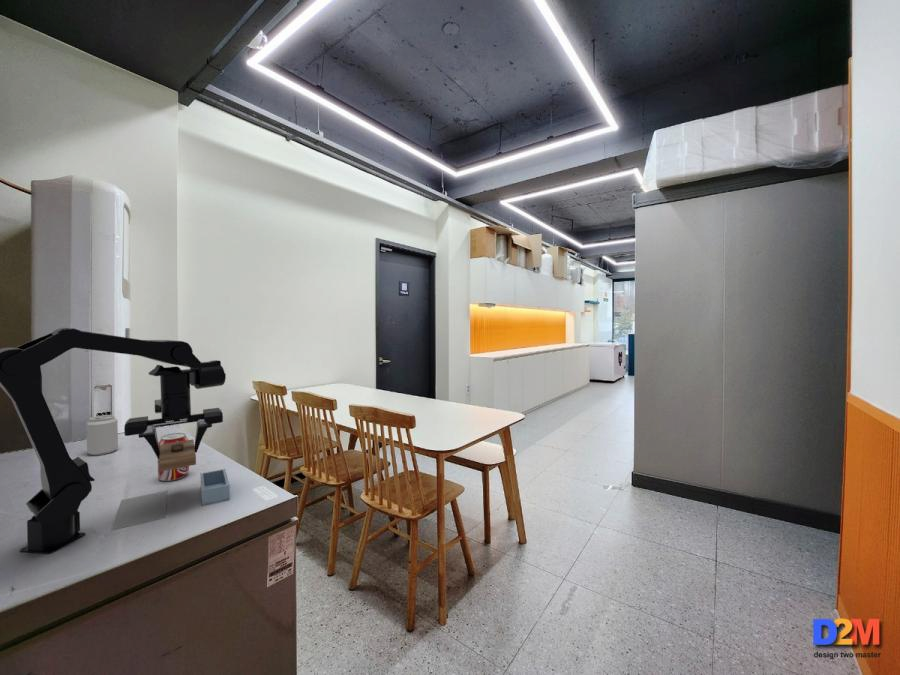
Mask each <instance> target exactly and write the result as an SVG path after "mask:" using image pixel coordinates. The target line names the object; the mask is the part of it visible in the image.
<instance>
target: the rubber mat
mask: <svg viewBox="0 0 900 675" xmlns="http://www.w3.org/2000/svg"><path fill="white" fill-rule="evenodd" d="M168 492H169V490H165V491H160V492H159V491H158V492H155V493H154V492H153V493H149V494H143V495H139V496H134V497H130V498H124V499H121V500H120V503H119V506H118V509H117V512H116V515H115V518H114V521H113V523H112V526H111V529H110V531H111V532H112V531H115V530H118V529H124V528H128V527H132V526H136V525H140V524H141V525H142V524H145V523H149V522H154V521H157V520H162V519H166V513H167V503H168V494H169V493H168Z"/></svg>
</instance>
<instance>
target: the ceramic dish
mask: <svg viewBox="0 0 900 675" xmlns="http://www.w3.org/2000/svg"><path fill="white" fill-rule="evenodd" d="M226 471H227V470H226V468H222V469H216V470H211V471H207V472H202V473H201V472H200V476H199V477H200V479H199V482H200V485H199V486H200V496H201V506H202V507H204V506H208V505H212V504H217V503H221V502H225V501H230V481H229V477H228V474H227V472H226Z"/></svg>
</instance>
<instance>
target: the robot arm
mask: <svg viewBox="0 0 900 675" xmlns="http://www.w3.org/2000/svg"><path fill="white" fill-rule="evenodd" d="M72 349H81V350H82V349H83V350H91V351H98V352H105V353H106V352H108V353H114V354H115V353H116V354H122V355H130V356H138V357H142V358H146V359H148V360H149V359H150V360H152V361H155V362H160V363H163V364H167V365H168V364H169V365H173V366H168V367H167V366H166V367H164V366H163V365H161V364H156V366H155V367H154V368H153V369H152V370H150V371H149V372H148V375H149V376H152V377H159V379H160V381H159V382H160V399H155V400H154V413H155V414H161V418H155V419H149V416H139V417H132V418H131V417H129V418H128V419H127V420H126V422H125V424H124V428H123V429H124V436H125V437H129V436H135V435H137V436H138V438H140V439H141V438H144V439H145V441H146V442H147V443H148V444H149V445H150V447H151V449H152V451H153V452H154V454H155V456H156V458H157V460H158V459H159V456H160V448H159V439H158V433H157V428H159V427H160V428H161V427H168V426H174V425H182V424H183V425H184V424H189V423H196V428H195V430H196V431H195V438H194V447H195V454H197V453H198V451H199V448H200V445H201V442H202V440H203V437H204V436H205V433H206V432H207V430H208V429H209V428H210V429H211V428H212V427H213V425H214V424H220V423H223V422H224V416H223V411H222V409H220V407H213V408H206V409H203V410H202V413H195V414H194V413H193V414H192V405H191V386H193V387H194V388H195V389H196V390H199V389H206V388H213V387H222V386H224V385H225V382H226V378H227V377H226V376H227V375H226V374H227V373H225V370H224V367H223V366H222V363H221V360H218V359H215V360H209V361H203V362H202V361H200V359H199V358H198V357H197V356H196V355H195V354H194V353H193V347H192V346H191V345H190V344H189V343H188V342H186V341H184V340H172V339H171V340H170V339H137V338H131V337H124V336H119V335H111V334H105V333H97V332H92V331H85V330H80V329H77V328H74V327H58V328H57V329H55V330H53V331H52V332H50V333H47V334H46V335H43V336H41V337H38V338H36V339H31V340H30V341H28V342H26V343H23V344H21V345H18V346H16V347H2V348H0V388H1V389H2V390H3V392H5V395H7V396H8V397H9V399H10V400H11V402H12V404H13V407H14V408H15V410H16V413H17V415H18V417H19V420H20V422H21V424H22V426H23V429H24V430H25V432H26V435H27V437H28V439H29V442H30V443H31V446H32V448H33V451H34V452H35V453H34V454H36V457H37V459H38V462H39V465H40V472H39V474H40V482H41V487H42V488H41V489H40V490H39V491H38V492H37V493H36V494H35V495H33V496H32V498H30V499H29V500H28V501H27V502H26V506H27V508H28V510H29V512H31V513H32V514H33V516H32V517H31V518H30V519H28V520H26V531H27V532H26V535H27V536H26V537H27V546H23V547H22V548H21V549H19V552H20V553H27V554H42V555H52V554H53V553H55V552H57V551H59V550H60V549H62V548H63V549H64V548H65V547H67V546H68V545H70V544H72V543H74V542H75V541H77V540H80V539H82V538H83V537H84V536H86V532H82V531H81V518H80V517H81V513H80V511H79V508H80V505H81V503H82V502H83V501H84V500H85V499H87V497H88V496H89V494H90V493H91V492H92V490H93V489H92V488H93V485H92V482H95V481H96V480H95V478H94V477H92V476H91V474H90V470H89V464H88V462H87V461H85V460H84V459H82V458H81V457H79V456H77V457H75V458H73V459H72V458H71V457H70V455H69V452H68V450H67V447H66V445H65V443H64V441H63V439H62V436H61V433H60V432H59V428H58V427H57V424H56V421H55V420H54V417H53V415H52V413H51V410H50V408H49V406H48V403H47V401H46V398H45V396H44V394H43V375H42V370H41V367H42V366H43V365H46V364H47V363H49V362H51V361H52V360H54V359H56V358H58V357H59V356H62V355H63V354H64V353H66V352H68V351H70V350H72ZM174 365H175V366H174ZM180 366H181V367H186V368H187V369H186V368H185V369H181V368H180Z"/></svg>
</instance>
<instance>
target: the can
mask: <svg viewBox="0 0 900 675" xmlns="http://www.w3.org/2000/svg"><path fill="white" fill-rule="evenodd" d="M115 417H116V415H115V414H104V415H96V416H92V417H90V418H89V420H88V421H87V422H86V426H85V427H86V429H85V430H86V431H85V432H86V453H87V454H89V455H90V456H102V455H104V456H105V455H108V454H111V453H113V452H115V451H116V450H117V449H119V438H118V437H119V433H118V432H119V431H118V429H119V427H118V425H119V424H118V423H119V422H118V419H117V418H115Z"/></svg>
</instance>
